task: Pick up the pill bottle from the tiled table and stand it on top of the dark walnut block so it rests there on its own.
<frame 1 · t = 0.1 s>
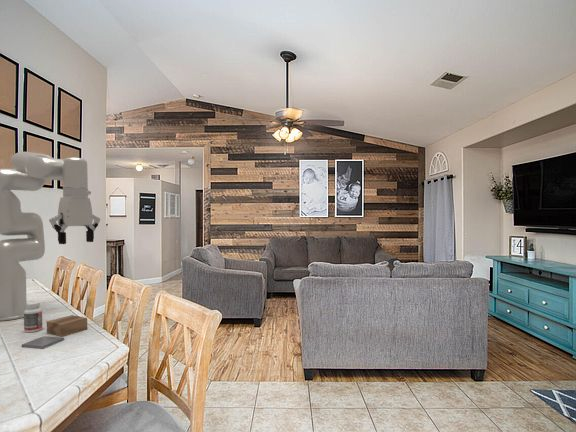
hand: (76, 242, 128), 31 cm above the table, fingers open, 9 cm apart
slate coaster: (43, 343, 117), on the table
pill bottle: (33, 330, 131), on the table
walnut block: (67, 330, 130), on the table
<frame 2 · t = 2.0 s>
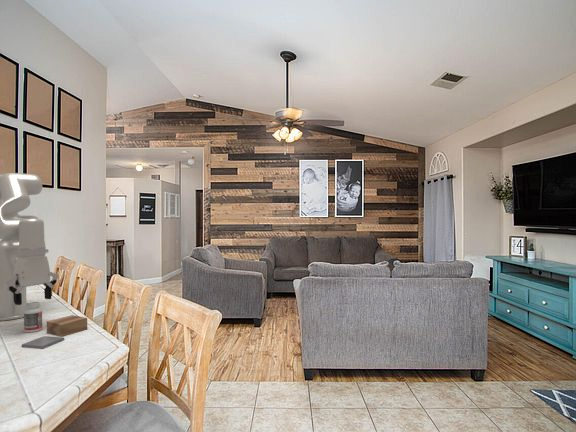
hand: (33, 301, 131), 10 cm above the table, fingers open, 9 cm apart
nothing on the table moved.
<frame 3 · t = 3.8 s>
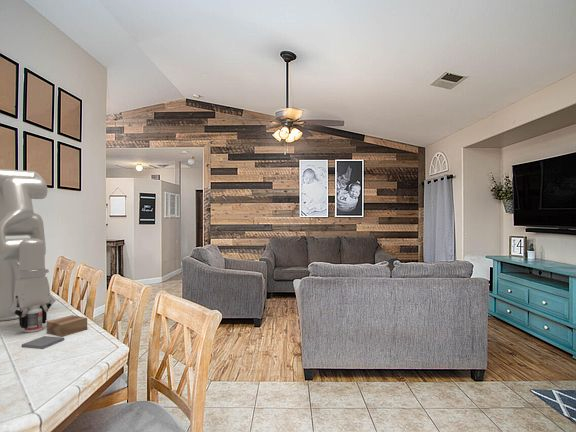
hand: (33, 324, 131), 2 cm above the table, fingers closed on pill bottle, 5 cm apart
pill bottle: (33, 330, 131), on the table, touching gripper
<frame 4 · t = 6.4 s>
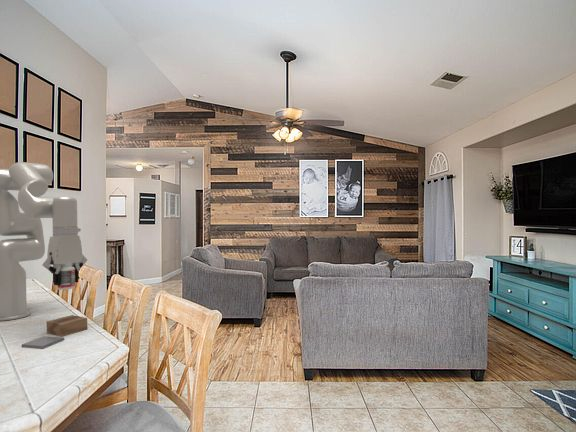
hand: (66, 283, 130), 17 cm above the table, fingers closed on pill bottle, 5 cm apart
pill bottle: (66, 289, 130), point 15 cm above the table, touching gripper
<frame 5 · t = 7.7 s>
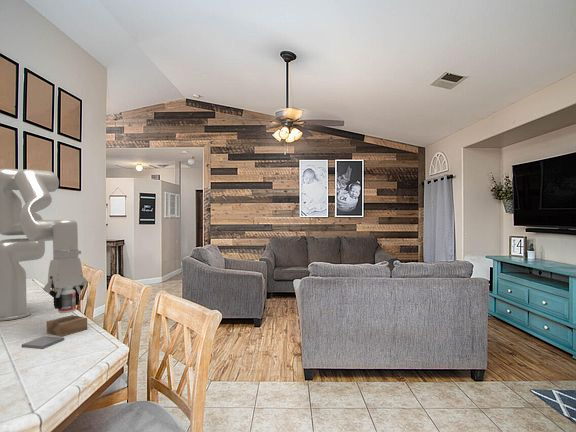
hand: (66, 306, 130), 9 cm above the table, fingers closed on pill bottle, 5 cm apart
pill bottle: (67, 312, 130), point 7 cm above the table, touching gripper
when the fingers open (7 cm above the table, at t = 8.9 s): pill bottle stays where it is, resting on walnut block.
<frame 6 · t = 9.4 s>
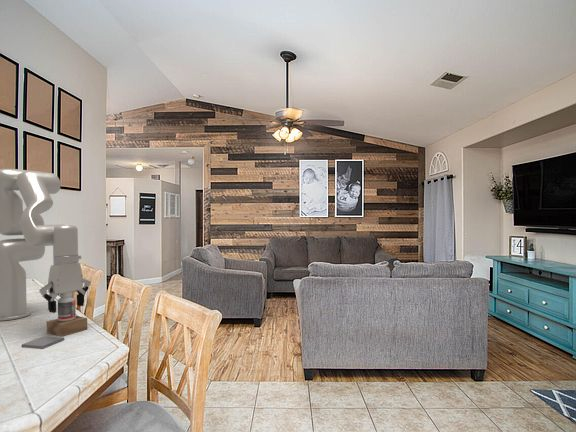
hand: (66, 308, 130), 8 cm above the table, fingers open, 9 cm apart
pill bottle: (66, 320, 130), point 4 cm above the table, touching walnut block
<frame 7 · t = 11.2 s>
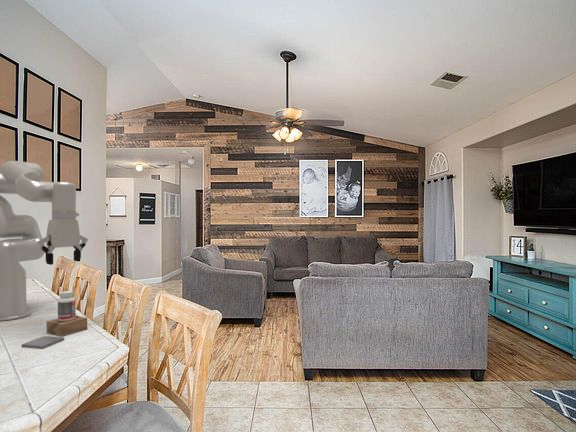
hand: (63, 262, 135), 23 cm above the table, fingers open, 9 cm apart
nothing on the table moved.
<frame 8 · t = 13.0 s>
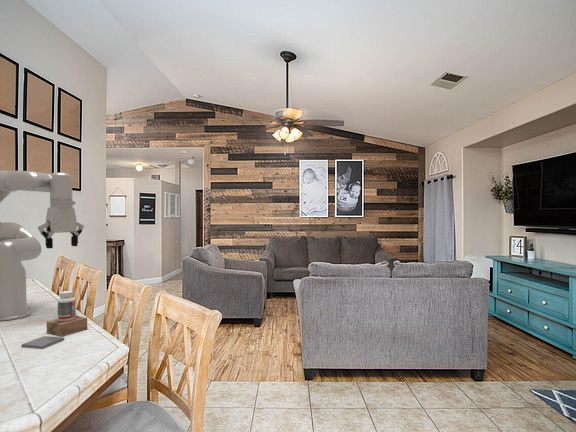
hand: (62, 247, 146), 28 cm above the table, fingers open, 9 cm apart
nothing on the table moved.
at the end: pill bottle 0.2 cm off-centre on the walnut block, point 3.8 cm above the walnut block's base; pill bottle tilted 0°; the gripper is holding nothing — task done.
